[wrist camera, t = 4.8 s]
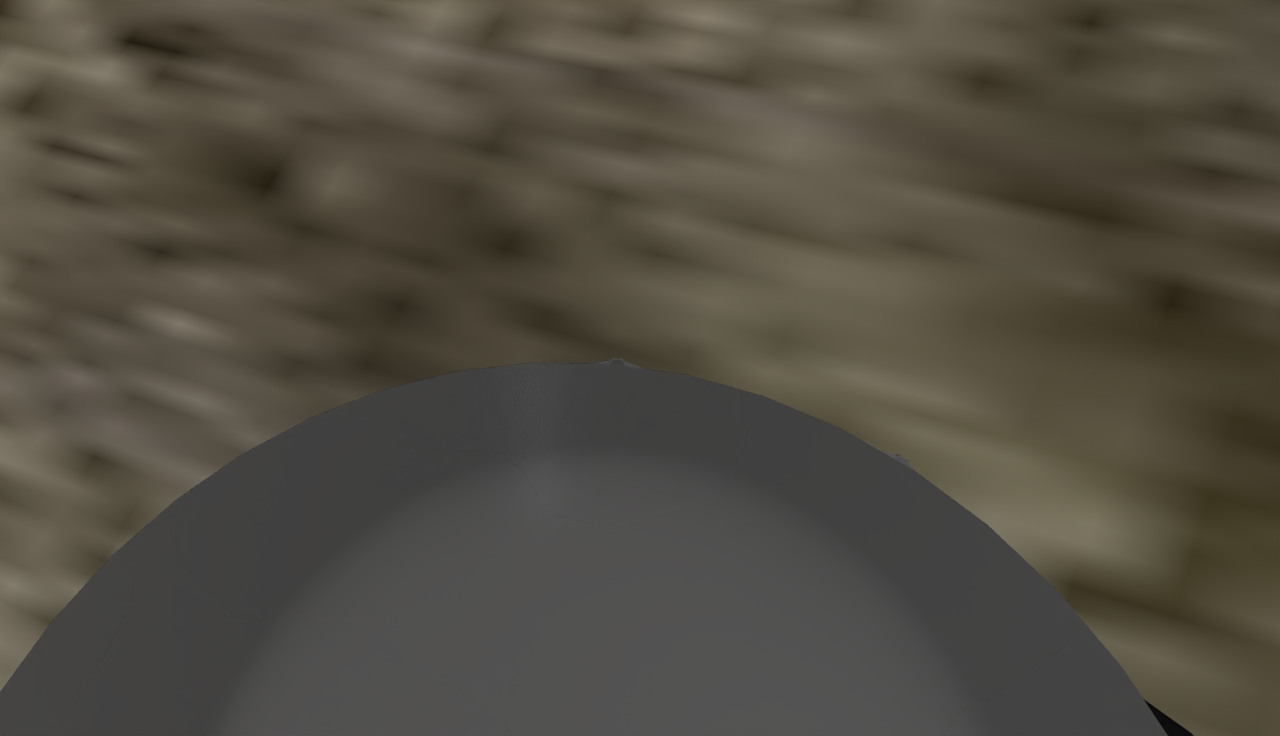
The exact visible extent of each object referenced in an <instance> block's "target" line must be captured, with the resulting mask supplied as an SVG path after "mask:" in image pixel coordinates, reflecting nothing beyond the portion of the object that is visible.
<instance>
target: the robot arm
mask: <svg viewBox="0 0 1280 736" xmlns="http://www.w3.org/2000/svg"><path fill="white" fill-rule="evenodd" d="M1144 701H1145V700H1144ZM1145 702H1146V704H1147V705H1148V707H1149V708H1150V710H1151V711H1152V713H1153V714H1154V716H1155V717H1156V719H1157V720H1158V722H1159V723H1160V725H1161V726H1162V728H1163V729H1164V731H1165V732H1166V734H1167V735H1168V736H1193V734H1192V733H1190V732H1189V731H1188V730H1186V729H1185V728H1183V727H1182V726H1181V725H1179V724H1178V723H1176V722H1175V721H1174V720H1172V719H1171V718H1169V717H1168V716H1167V715H1165V714H1164V713H1162V712H1161V711H1159V710H1158V709H1157V708H1155V707H1154V706H1152V705H1151V704H1150V703H1148V702H1147V701H1145Z"/></svg>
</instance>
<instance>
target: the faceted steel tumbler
mask: <svg viewBox="0 0 1280 736" xmlns="http://www.w3.org/2000/svg"><path fill="white" fill-rule="evenodd" d="M908 462H909V460H907V459H904V458H903V457H902V456H901V455H900V454H898V455H892V454H889V453H886V452H884V451H881V450H878V449H876V448H874V447H872V446H870V445H869V444H867V443H865V442H863V441H862V440H860V439H858V438H856V437H855V436H853V435H851V434H849V433H848V432H846V431H844V430H842V429H841V428H839V427H836V426H834V425H832V424H829V423H827V422H824V421H822V420H820V419H817V418H815V417H812V416H810V415H808V414H805V413H803V412H800V411H798V410H796V409H793V408H791V407H788V406H786V405H784V404H781V403H779V402H776V401H774V400H772V399H769V398H767V397H764V396H762V395H758V394H754V393H751V392H747V391H743V390H740V389H736V388H733V387H729V386H725V385H722V384H718V383H714V382H711V381H707V380H704V379H700V378H696V377H693V376H689V375H685V374H678V373H671V372H664V371H657V370H650V369H645V368H642V367H639V366H636V365H634V364H631V363H628V362H625V361H624V359H623V358H620V359H616V358H612V360H609V361H604V362H598V363H526V364H517V365H508V366H500V367H491V368H483V369H474V370H465V371H457V372H453V373H449V374H445V375H441V376H437V377H433V378H429V379H425V380H421V381H417V382H412V383H408V384H404V385H400V386H396V387H392V388H388V389H384V390H381V391H379V392H376V393H373V394H371V395H368V396H366V397H363V398H360V399H358V400H355V401H353V402H350V403H347V404H345V405H342V406H340V407H337V408H334V409H332V410H329V411H327V412H324V413H321V414H319V415H316V416H314V417H311V418H309V419H307V420H305V421H303V422H302V423H300V424H298V425H296V426H294V427H292V428H290V429H288V430H287V431H285V432H283V433H281V434H279V435H277V436H275V437H273V438H272V439H270V440H268V441H266V442H264V443H262V444H260V445H258V446H256V447H255V448H253V449H251V450H249V451H247V452H245V453H243V454H241V455H240V456H239V457H237V458H236V459H234V460H233V461H231V462H230V463H228V464H227V465H226V466H224V467H223V468H221V469H220V470H218V471H217V472H215V473H214V474H213V475H211V476H210V477H208V478H207V479H205V480H204V481H203V482H201V483H200V484H198V485H197V486H195V487H194V488H192V489H191V490H190V491H188V492H187V493H185V494H184V495H182V496H181V497H179V498H178V499H177V500H175V501H174V502H173V503H172V504H171V505H169V506H168V507H167V508H166V509H165V510H164V511H163V512H161V513H160V514H159V515H158V516H157V517H156V518H155V519H153V520H152V521H151V522H150V523H149V524H148V525H147V526H145V527H144V528H143V529H142V530H141V531H140V532H139V533H137V534H136V535H135V536H134V537H133V538H132V539H131V540H129V541H128V542H127V543H126V544H125V545H124V546H123V547H122V548H120V549H119V550H118V551H117V552H116V553H115V554H114V555H112V556H111V557H110V559H109V560H108V561H107V562H106V563H105V564H104V565H103V566H102V567H101V568H100V569H99V571H98V572H97V573H96V574H95V575H94V576H93V577H92V578H91V579H90V580H89V582H88V583H87V584H86V585H85V586H84V587H83V588H82V589H81V590H80V591H79V592H78V594H77V595H76V596H75V597H74V598H73V599H72V600H71V601H70V602H69V603H68V604H67V606H66V607H65V608H64V609H63V610H62V611H61V612H60V613H59V614H58V615H57V616H56V618H55V619H54V620H53V621H52V622H51V624H50V625H49V626H48V628H47V629H46V631H45V632H44V633H43V635H42V636H41V637H40V639H39V640H38V641H37V643H36V644H35V645H34V647H33V648H32V649H31V651H30V652H29V654H28V655H27V656H26V658H25V659H24V660H23V662H22V663H21V664H20V666H19V667H18V668H17V670H16V671H15V673H14V674H13V675H12V677H11V678H10V679H9V681H8V682H7V683H6V685H5V686H4V687H3V689H2V690H1V692H0V736H1168V735H1167V734H1166V732H1165V731H1164V729H1163V728H1162V726H1161V725H1160V723H1159V722H1158V720H1157V719H1156V717H1155V716H1154V714H1153V713H1152V711H1151V710H1150V708H1149V707H1148V705H1147V704H1146V702H1145V701H1144V699H1143V698H1142V696H1141V695H1140V693H1139V692H1138V690H1137V689H1136V688H1135V686H1134V685H1133V683H1132V682H1131V680H1130V679H1129V677H1128V676H1127V674H1126V673H1125V671H1124V670H1123V668H1122V667H1121V666H1120V664H1119V663H1118V662H1117V661H1116V660H1115V658H1114V657H1113V656H1112V655H1111V654H1110V653H1109V651H1108V650H1107V649H1106V648H1105V647H1104V645H1103V644H1102V643H1101V642H1100V641H1099V640H1098V638H1097V637H1096V636H1095V635H1094V634H1093V632H1092V631H1091V630H1090V629H1089V628H1088V627H1087V625H1086V624H1085V623H1084V622H1083V621H1082V619H1081V618H1080V617H1079V616H1078V615H1077V614H1076V612H1075V611H1074V610H1073V609H1072V608H1071V606H1070V605H1069V604H1068V603H1067V602H1066V601H1065V599H1064V598H1063V597H1062V596H1061V595H1060V593H1059V592H1058V591H1057V590H1056V589H1055V588H1054V587H1053V586H1052V585H1051V584H1050V583H1049V582H1048V581H1047V580H1045V579H1044V578H1043V577H1042V576H1041V575H1040V574H1039V573H1038V572H1037V571H1036V570H1035V569H1034V568H1033V567H1032V566H1031V565H1030V564H1028V563H1027V562H1026V561H1025V560H1024V559H1023V558H1022V557H1021V556H1020V555H1019V554H1018V553H1017V552H1016V551H1015V550H1014V549H1013V548H1011V547H1010V546H1009V545H1008V544H1007V543H1006V542H1005V541H1004V540H1003V539H1002V538H1001V537H1000V536H999V535H998V534H997V533H996V532H994V531H993V530H992V529H991V528H990V527H989V526H988V525H987V524H986V523H984V522H983V521H982V520H980V519H979V518H978V517H976V516H975V515H974V514H972V513H971V512H970V511H968V510H967V509H966V508H964V507H963V506H961V505H960V504H959V503H957V502H956V501H955V500H953V499H952V498H951V497H949V496H948V495H947V494H945V493H944V492H943V491H941V490H940V489H939V488H937V487H936V486H935V485H933V484H932V483H930V482H929V481H928V480H926V479H925V478H924V477H922V476H921V475H920V474H918V473H917V472H916V471H915V470H914V469H913V468H912V467H911V466H910V465H909V464H908Z"/></svg>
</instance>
